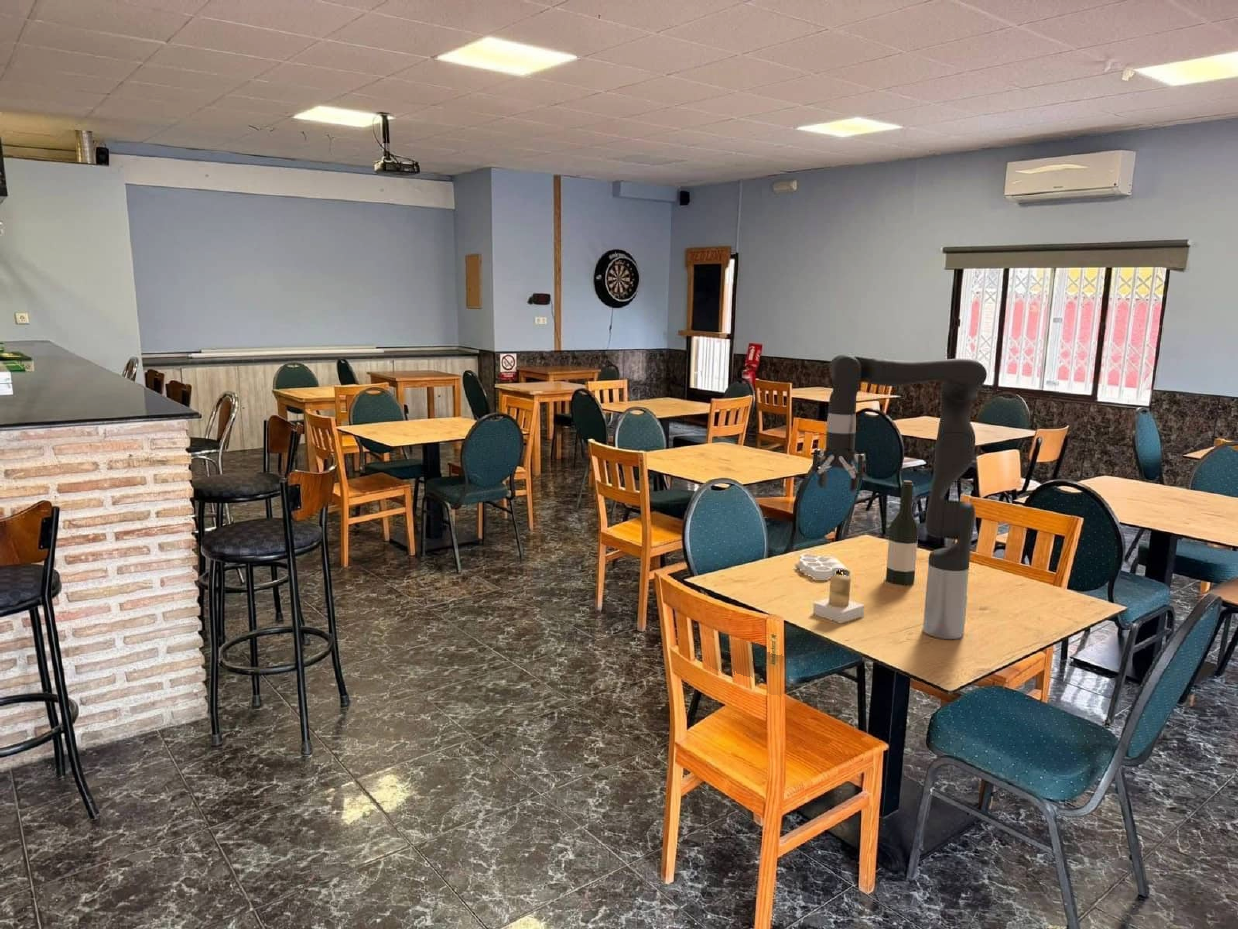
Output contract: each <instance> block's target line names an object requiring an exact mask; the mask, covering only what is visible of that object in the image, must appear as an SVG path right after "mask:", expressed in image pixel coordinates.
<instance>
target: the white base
mask: <svg viewBox="0 0 1238 929" xmlns="http://www.w3.org/2000/svg"><path fill="white" fill-rule="evenodd" d="M864 611H865V605H864V604H861V603H858V602H855V601H852V600H850V599H849V605H848V606H847V607H835V606H832V605H830V604H829V597H827V598H824V599H821V600H818V601H815V602H813V611H812V614H813V613H815V614H814V615H816V614H817V615H816V616H818V615H819V616H818V617H821V616H823V617H822V618H824V617H825V618H824V619H826V620H829V619H832V620H834V621H833V622H835V621H837V622H836V623H838V624H840V623H843V624H845V623H844V622H846V623H848V622H850V621H849V620H851V621H853V620H852V619H854V620H857V619H860V618H862V616H863V617H864ZM859 617H860V618H859ZM856 618H857V619H856ZM832 620H831V621H832ZM847 621H848V622H847Z"/></svg>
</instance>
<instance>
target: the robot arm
mask: <svg viewBox="0 0 1238 929" xmlns="http://www.w3.org/2000/svg"><path fill="white" fill-rule="evenodd" d="M828 371H829V374H830V376H831V377H832V378H833V386H832V392H831V393H830V396H829V399H828V400H829V401H828V402H829V403H828V414H827V419H826V420H827V421H826V427H825V429H826V430H825V431H826V433H825V435H826V436H825V449H824V450H823V449H821V448H816V449H814V450H813V454H812V455H813V456H812V466H811V470H812V471H813V472H816V473H817V475H818V482H817V483H818V486H819V487H820V488H821V489H822V488H823V489H824V488H826V482H827V473H826V472H827V470H828V469H829V468H839V469H845V471H847V473H848V474H849V475H850V484H849V492H850V493H854V492H856V491H857V489H858V486H859V478H862V477H864V476H866V472H867V464H866V463H867V459H866V458H867V456H866V453H860V454H859V453H855V445H856V444H855V443H856V432H857V431H856V428H857V427H856V426H857V417H856V415H857V414H856V413H857V396H858V392H859V387H860V383H867V384H869V385H875V386H882V387H883V386H884V387H894V388H895V387H897V388H898V387H904V386H905V387H906V386H911V385H915V384H920V383H925V382H931V381H932V382H934V381H940V382H941V384H940V385H941V386H940V396H941V397H940V398H941V399H940V402H941V404H940V405H941V406H940V408H941V411H940V419H939V423H938V429H937V437H936V440H935V449H934V460H933V461H934V463H933V473H932V482H931V487H930V492H929V496H928V501H927V506H926V514H925V519H924V520H925V521H924V522H925V523H924V524H925V525H924V527H925V532H926V534H927V535H928V536H929V537H935V538H941V539H949V540H957V542H955V543H953V544H951V545H949V546H946V547H942V548H937V549H934V550H931V551H930V553H929V555H928V561H927V562H928V565H927V578H926V588H925V599H924V601H925V602H924V611H923V613H924V614H923V622H922V631H923V633H924V634H926V635H929V636H931V637H933V638H936V639H943V640H957V639H960V638H962V637H963V636H964V633H965V624H966V614H967V613H966V612H967V605H968V596H967V593H968V584H969V573H970V572H969V570H970V561H971V560H970V558H971V546H972V541H973V534H974V528H975V521H976V510H975V509H976V508H975V506H974V504H973V503H972V502H969V501H962V500H961V501H960V500H952V499H945V496H946V494H947V493H948V491H949V490H950V488H951V486H952V485H953V484H955V482H956V481H957V480H958V479H959V478H960V477H962V476H963V475H964V474H965V473H966V472H967V471H968V469H970V467H971V465H972V464H973V462H974V459H975V451H976V450H975V449H976V433H975V430H974V428H973V426H972V424H971V421H970V417H971V411H972V410H971V409H972V403H973V402H974V398H975V397H976V395H977V394H978V392H979V391H980V390H981V388H982V387H983V385H984V383H985V382H986V380H987V377H988V373H987V370H986V367H985V366H984V365H983V364H982V363H981V362H979V360H974V359H972V358H949V359H948V358H947V359H929V360H902V359H901V360H899V359H889V358H874V357H873V358H868V357H861V356H856V355H848V354H839V355H836V356H835V357H834V358H833V359H832V360H831V361H830V363H829V365H828ZM822 457H825V459H826V460H825V462H824V463H823V464H822V465H821V459H822ZM854 460H855V461H856V463H857V468H856V466H855V464H854V463H853V461H854Z"/></svg>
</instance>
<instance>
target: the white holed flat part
mask: <svg viewBox="0 0 1238 929" xmlns="http://www.w3.org/2000/svg"><path fill="white" fill-rule="evenodd" d="M794 566H795V567H797V568H798V571H799V572H801V573H802V572H803V573H805V574H807V575H811V576H812V578H815V579H818V580H817V581H819V580H827V581H830V580H829V579H831V576H832V575H837V574H838V573H837V572H838V570H840V572H843V575H846V576H847V577H849V576H851V571H850V570H849V569H847V568H846V567H845V565H844V564H843V563H841V562H840V561H839V559H837V558H836V557H832V556H821V555H818V554H814V553H803V554H800V555H799V560H798V562H797V563H795V564H794ZM799 568H800V569H801V570H799ZM803 573H802V574H803ZM835 573H837V574H835ZM807 575H806V576H807ZM812 578H811V579H812Z"/></svg>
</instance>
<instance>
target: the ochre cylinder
mask: <svg viewBox="0 0 1238 929" xmlns="http://www.w3.org/2000/svg"><path fill="white" fill-rule="evenodd" d="M829 581H830V582H829V584H830V585H829V594H828V595H829V596H828V598H829V604H830V605H832V606H835V607H847V606H848V605H849V600H850V591H851V577H849V576H844V575H841V574H838V575H832V576H831V580H829Z"/></svg>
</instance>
